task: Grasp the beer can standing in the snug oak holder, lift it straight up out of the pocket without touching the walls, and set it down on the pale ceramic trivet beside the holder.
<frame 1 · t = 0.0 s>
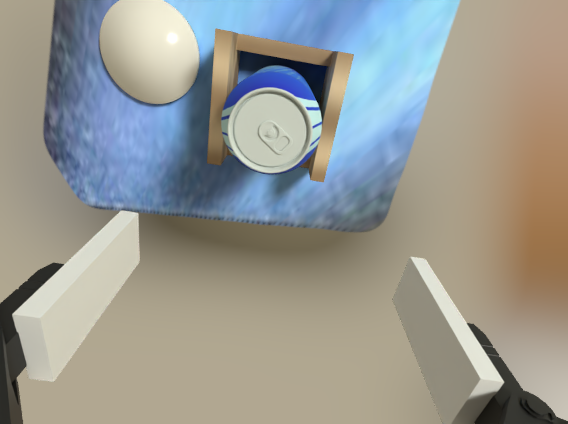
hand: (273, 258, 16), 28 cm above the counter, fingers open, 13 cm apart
trivet: (151, 52, 37), on the counter
oak holder: (277, 102, 39), on the counter
beer can: (277, 102, 40), resting in oak holder
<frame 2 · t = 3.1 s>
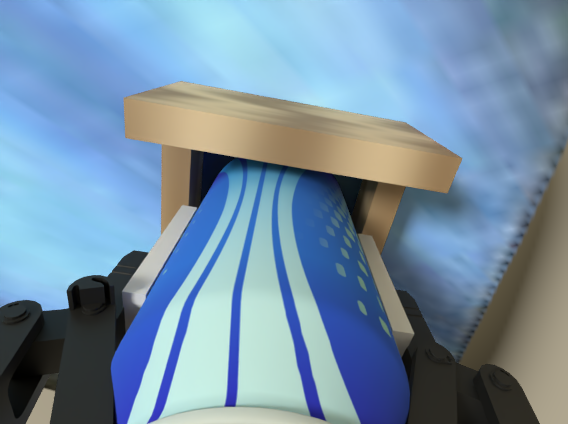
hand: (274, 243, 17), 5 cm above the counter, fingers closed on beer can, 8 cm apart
oak holder: (277, 204, 21), on the counter
beer can: (277, 202, 22), resting in oak holder, touching gripper
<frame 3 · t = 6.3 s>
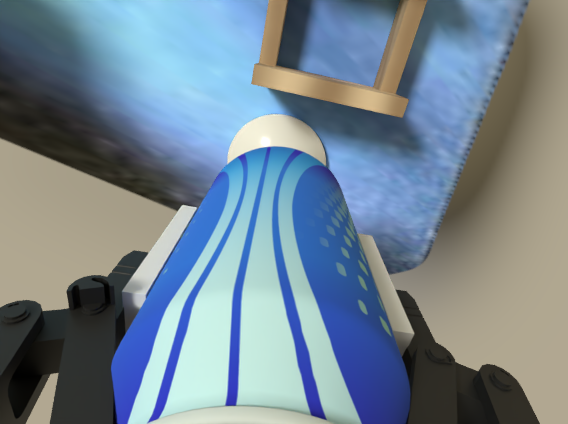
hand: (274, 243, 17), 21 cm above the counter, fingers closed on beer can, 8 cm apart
trivet: (276, 163, 37), on the counter
oak holder: (339, 20, 31), on the counter
beer can: (277, 202, 22), point 16 cm above the counter, touching gripper
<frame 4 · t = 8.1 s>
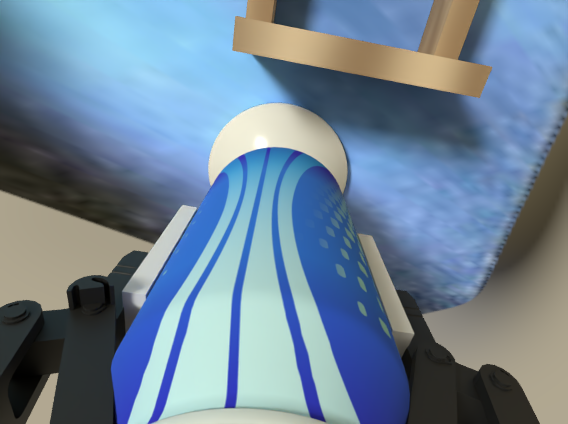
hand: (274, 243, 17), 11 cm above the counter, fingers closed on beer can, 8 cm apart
trivet: (278, 173, 27), on the counter
beer can: (277, 203, 22), point 5 cm above the counter, touching gripper
when the fingers open (7 cm above the counter, at t = 9.6 s): beer can drops 1 cm, resting on trivet.
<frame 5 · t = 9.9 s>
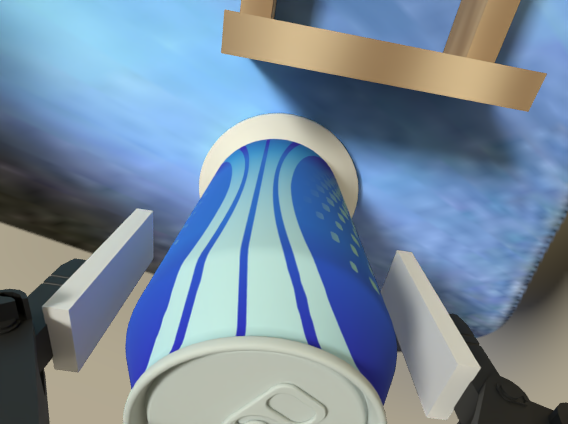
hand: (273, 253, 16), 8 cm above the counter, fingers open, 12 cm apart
trivet: (278, 192, 23), on the counter
beer can: (275, 193, 23), resting on trivet
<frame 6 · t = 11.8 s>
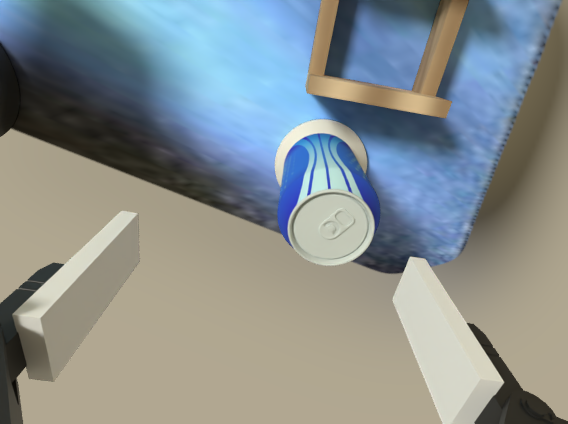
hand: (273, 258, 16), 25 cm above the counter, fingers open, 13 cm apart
trivet: (320, 165, 40), on the counter
oak holder: (380, 30, 33), on the counter
beer can: (319, 165, 39), resting on trivet
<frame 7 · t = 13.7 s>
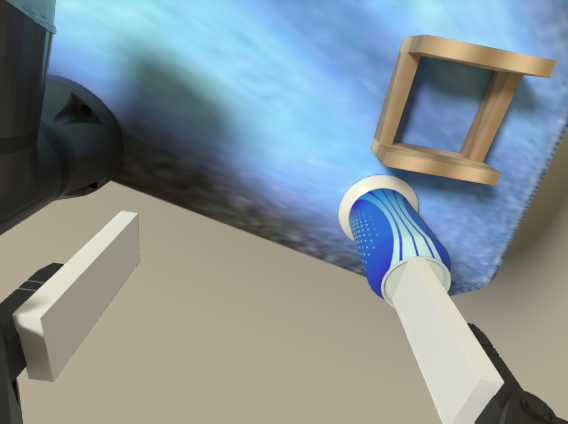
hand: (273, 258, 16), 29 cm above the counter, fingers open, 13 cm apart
trivet: (377, 211, 46), on the counter
oak holder: (437, 106, 40), on the counter
beer can: (376, 211, 46), resting on trivet
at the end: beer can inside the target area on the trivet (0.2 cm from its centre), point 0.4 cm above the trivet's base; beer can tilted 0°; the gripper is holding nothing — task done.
